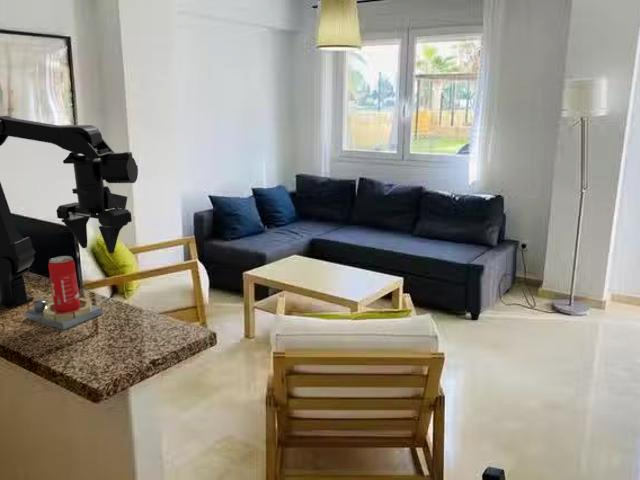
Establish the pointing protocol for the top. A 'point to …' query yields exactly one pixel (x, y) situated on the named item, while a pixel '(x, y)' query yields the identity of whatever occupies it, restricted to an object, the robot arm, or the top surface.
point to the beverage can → (64, 284)
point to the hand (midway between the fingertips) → (97, 250)
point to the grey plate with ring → (62, 314)
